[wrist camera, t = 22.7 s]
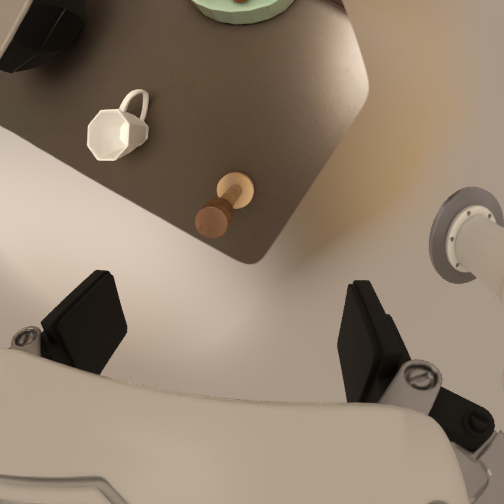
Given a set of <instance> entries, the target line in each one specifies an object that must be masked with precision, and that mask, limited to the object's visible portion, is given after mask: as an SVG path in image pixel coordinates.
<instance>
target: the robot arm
mask: <svg viewBox="0 0 504 504" xmlns="http://www.w3.org/2000/svg"><path fill="white" fill-rule="evenodd" d="M445 252H446V256H447V259H448V261H449V263H450V264H451V265H452V266H453V267H454V268H455V269H456V270H458V271H460V272H471V273H472V274H473V275H474V276H475V277H476V278H478V279H479V281H480V282H481V283H483V284H484V285H485V287H487V289H488V290H489V291H490V292H491V293H492V294H493V295H494V296H495V297H496V298H497V299H498V300H499V301H500V302H501V303H502V304H503V305H504V228H503V227H501V226H500V225H498V224H496V221H495V218H494V216H493V214H492V213H491V212H490V210H488V209H487V208H485V207H483V206H481V205H470V206H468V207H466V208H464V209H463V210H461V211H460V212H459V213H458V214H457V215H456V217H455V218H454V219H453V221H452V223H451V225H450V227H449V229H448V232H447V236H446V242H445ZM41 325H42V327H43V329H44V331H43V332H42V333H41V331H40V329H39V328H37V327H35V326H30V327H26V328H23V329H21V330H20V331H18V332H17V333H16V334H15V336H14V337H13V339H12V342H11V348H8V349H6V348H5V349H4V348H3V349H0V504H504V433H503V432H502V431H501V430H500V431H499V432H498V433H497V432H496V431H494V427H495V424H494V419H493V417H492V415H491V414H490V413H489V411H488V410H486V409H485V408H483V407H481V406H479V405H477V404H475V403H473V402H471V401H469V400H467V399H465V398H463V397H461V396H459V395H457V394H455V393H453V392H451V391H449V390H447V389H445V388H443V387H441V384H442V375H441V373H440V371H439V370H438V368H437V367H436V366H434V365H433V364H431V363H430V362H428V361H424V360H417V359H415V360H411V358H410V356H409V354H408V351H407V349H406V347H405V345H404V342H403V340H402V338H401V336H400V334H399V332H398V329H397V327H396V325H395V323H394V321H393V319H392V317H391V316H390V315H389V314H386V313H385V311H384V309H383V307H382V305H381V303H380V301H379V299H378V297H377V295H376V293H375V291H374V289H373V287H372V285H371V283H370V281H367V280H355V281H354V282H353V284H349V285H348V288H347V295H346V300H345V306H344V311H343V317H342V322H341V327H340V332H339V337H338V343H337V348H338V354H339V358H340V364H341V369H342V375H343V380H344V386H345V392H346V398H347V403H297V402H271V401H270V402H269V401H253V400H240V399H229V398H220V397H210V396H202V395H195V394H188V393H182V392H176V391H170V390H164V389H159V388H154V387H149V386H144V385H139V384H134V383H129V382H125V381H121V380H117V379H112V378H109V377H105V376H101V375H100V373H101V372H102V370H103V369H104V367H105V365H106V364H107V362H108V361H109V359H110V358H111V356H112V354H113V353H114V352H115V350H116V349H117V347H118V345H119V344H120V343H121V341H122V340H123V338H124V337H125V335H126V333H127V324H126V321H125V317H124V314H123V311H122V307H121V303H120V300H119V296H118V292H117V288H116V284H115V281H114V277H113V275H111V274H110V272H109V271H105V270H96V271H94V272H93V273H92V274H91V275H90V276H89V277H88V278H86V279H85V280H84V281H83V282H82V283H81V284H80V285H79V286H78V287H77V288H75V289H74V290H73V291H72V292H71V293H70V294H69V295H68V296H67V297H66V298H65V299H64V300H63V301H62V302H61V303H60V304H59V305H58V306H57V307H55V308H54V309H53V311H52V312H50V313H49V314H48V315H47V316H46V318H44V319H43V320H42V321H41ZM502 384H503V388H504V371H503V375H502Z"/></svg>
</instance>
